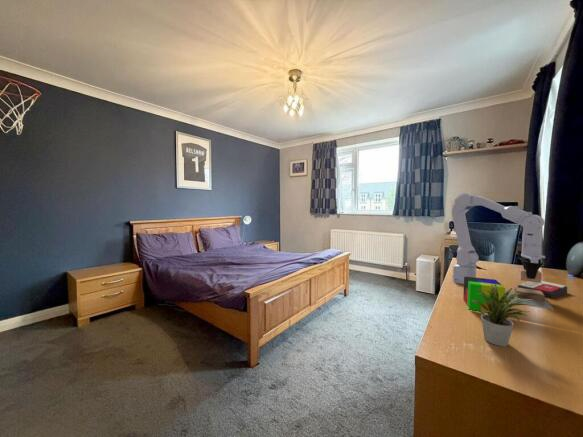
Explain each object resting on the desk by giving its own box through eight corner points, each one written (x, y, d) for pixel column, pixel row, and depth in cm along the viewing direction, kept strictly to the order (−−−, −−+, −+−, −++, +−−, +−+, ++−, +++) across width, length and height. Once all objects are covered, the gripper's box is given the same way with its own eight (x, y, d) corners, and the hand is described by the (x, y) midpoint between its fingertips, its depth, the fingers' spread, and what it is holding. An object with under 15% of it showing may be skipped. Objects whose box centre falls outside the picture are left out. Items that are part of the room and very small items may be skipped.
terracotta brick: (520, 280, 100) (521, 270, 100) (519, 277, 103) (519, 268, 103) (541, 283, 97) (541, 273, 96) (538, 280, 100) (539, 271, 100)
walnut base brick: (516, 296, 100) (517, 291, 100) (514, 292, 105) (514, 287, 105) (544, 301, 96) (544, 295, 96) (540, 296, 100) (540, 290, 100)
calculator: (517, 283, 108) (534, 278, 114) (517, 293, 109) (533, 286, 115) (551, 291, 98) (567, 285, 104) (550, 302, 99) (567, 294, 105)
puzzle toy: (494, 304, 94) (495, 279, 93) (503, 315, 85) (505, 287, 84) (463, 300, 98) (464, 276, 97) (469, 310, 89) (470, 283, 88)
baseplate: (484, 298, 100) (484, 297, 100) (482, 288, 113) (482, 287, 112) (554, 311, 88) (554, 310, 88) (543, 297, 101) (543, 296, 101)
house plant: (512, 364, 58) (515, 298, 58) (454, 336, 71) (456, 281, 70) (541, 350, 64) (545, 290, 63) (483, 326, 77) (485, 276, 76)
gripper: (550, 248, 91) (548, 283, 92) (541, 243, 103) (539, 274, 103) (524, 246, 95) (522, 280, 96) (518, 241, 107) (516, 271, 108)
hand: (529, 277), depth 100 cm, fingers closed on terracotta brick, 4 cm apart
